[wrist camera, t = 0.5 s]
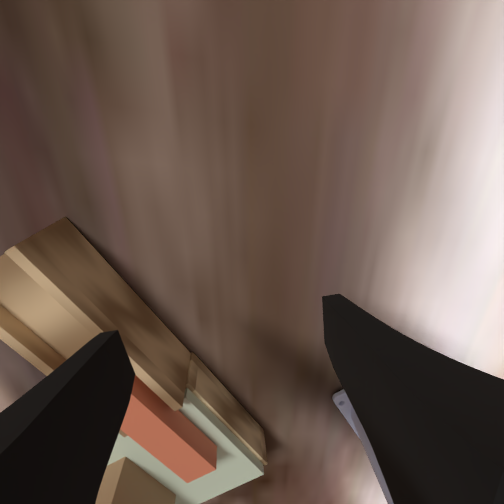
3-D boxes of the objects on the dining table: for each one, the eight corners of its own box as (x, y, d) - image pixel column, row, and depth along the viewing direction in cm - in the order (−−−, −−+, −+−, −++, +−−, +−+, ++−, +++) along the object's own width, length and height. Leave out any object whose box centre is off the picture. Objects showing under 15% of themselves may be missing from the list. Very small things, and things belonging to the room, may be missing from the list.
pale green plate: (262, 463, 24) (269, 523, 21) (114, 532, 26) (96, 598, 23) (187, 387, 20) (179, 445, 17) (20, 475, 23) (-20, 543, 19)
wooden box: (263, 429, 27) (267, 464, 24) (124, 497, 29) (113, 535, 27) (192, 352, 23) (188, 383, 20) (37, 437, 25) (14, 475, 22)
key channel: (190, 353, 23) (182, 407, 19) (143, 379, 24) (124, 437, 19) (65, 216, 18) (13, 245, 14) (9, 254, 19) (-57, 293, 14)
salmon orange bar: (216, 446, 22) (216, 469, 20) (189, 459, 22) (187, 483, 21) (124, 359, 18) (115, 380, 16) (93, 376, 18) (82, 398, 17)
